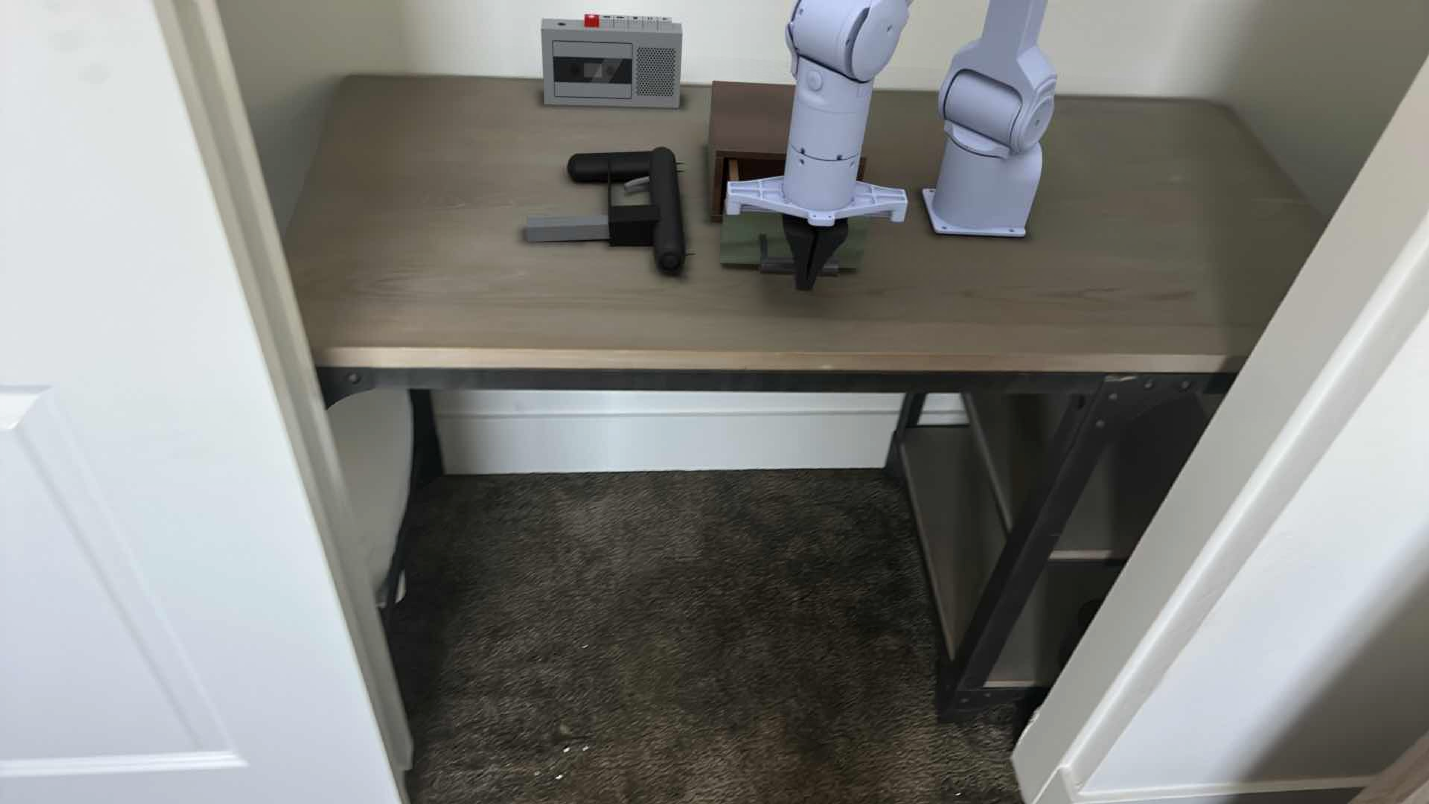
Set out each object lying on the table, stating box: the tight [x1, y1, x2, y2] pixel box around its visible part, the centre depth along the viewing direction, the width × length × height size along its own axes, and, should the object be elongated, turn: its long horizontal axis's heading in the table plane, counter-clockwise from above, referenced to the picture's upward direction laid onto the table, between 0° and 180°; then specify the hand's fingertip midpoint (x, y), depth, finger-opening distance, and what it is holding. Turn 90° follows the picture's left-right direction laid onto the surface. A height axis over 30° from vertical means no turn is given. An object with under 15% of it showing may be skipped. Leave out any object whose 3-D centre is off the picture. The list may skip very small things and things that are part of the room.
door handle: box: [525, 146, 696, 275], centre depth 103 cm, size 3×20×16 cm
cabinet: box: [707, 80, 868, 223], centre depth 107 cm, size 15×15×8 cm
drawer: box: [719, 157, 871, 278], centre depth 99 cm, size 19×13×6 cm
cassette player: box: [540, 13, 684, 109], centre depth 118 cm, size 16×3×10 cm, turn 94°
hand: (803, 283), depth 90 cm, fingers closed
